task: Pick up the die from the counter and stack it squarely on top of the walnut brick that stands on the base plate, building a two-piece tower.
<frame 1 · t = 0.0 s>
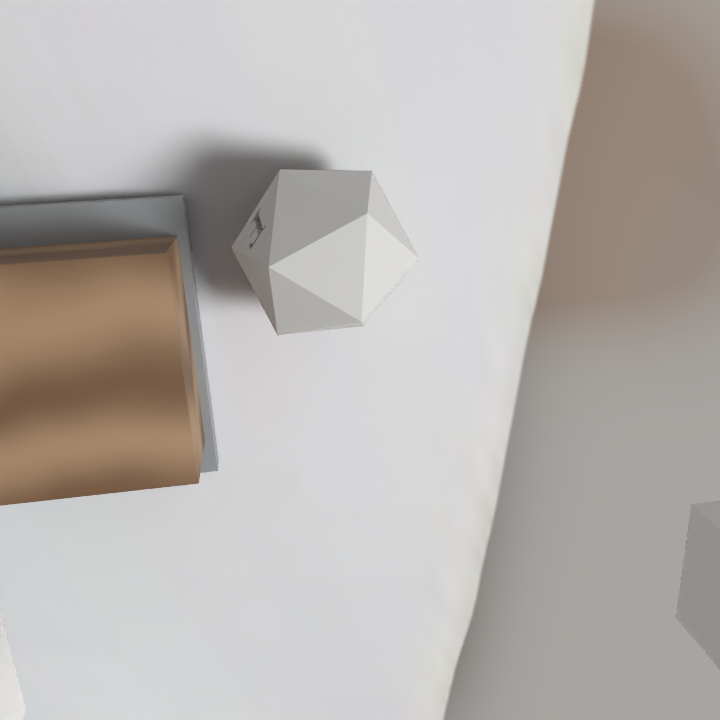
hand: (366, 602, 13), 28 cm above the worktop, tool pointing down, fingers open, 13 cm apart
die: (317, 240, 39), on the worktop
walnut brick: (79, 353, 38), resting on base plate
base plate: (85, 347, 39), on the worktop
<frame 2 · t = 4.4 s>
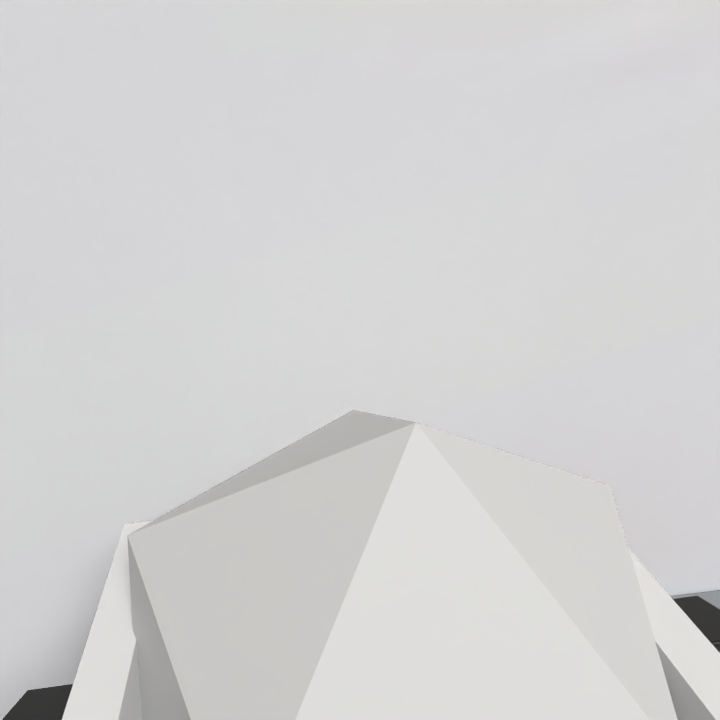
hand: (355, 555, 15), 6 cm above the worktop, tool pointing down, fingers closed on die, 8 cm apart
die: (352, 529, 15), point 5 cm above the worktop, touching gripper
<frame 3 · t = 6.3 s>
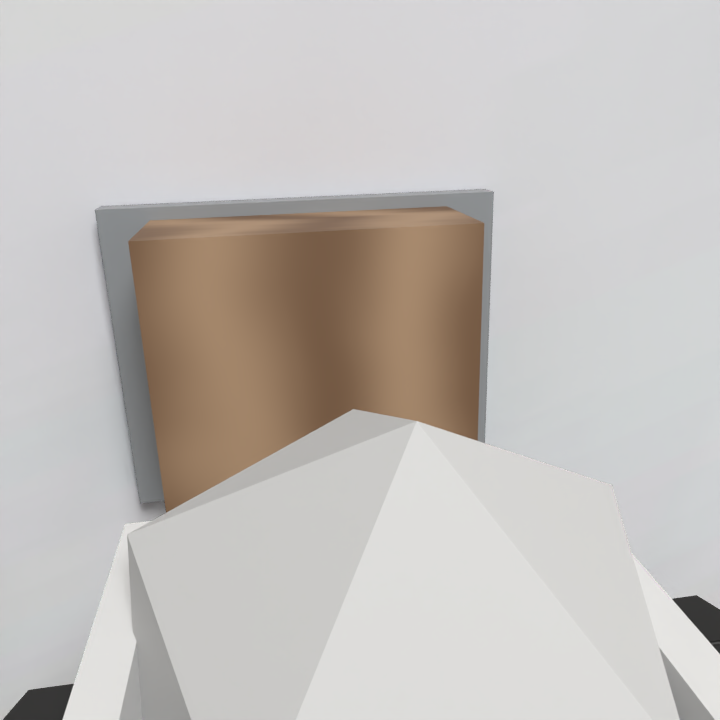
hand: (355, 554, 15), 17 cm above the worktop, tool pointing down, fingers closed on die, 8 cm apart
die: (352, 528, 15), point 17 cm above the worktop, touching gripper
walnut brick: (310, 353, 30), resting on base plate
base plate: (308, 345, 31), on the worktop
when the fingers open (7 cm above the worktop, at t = 8.6 s): die stays where it is, resting on walnut brick.
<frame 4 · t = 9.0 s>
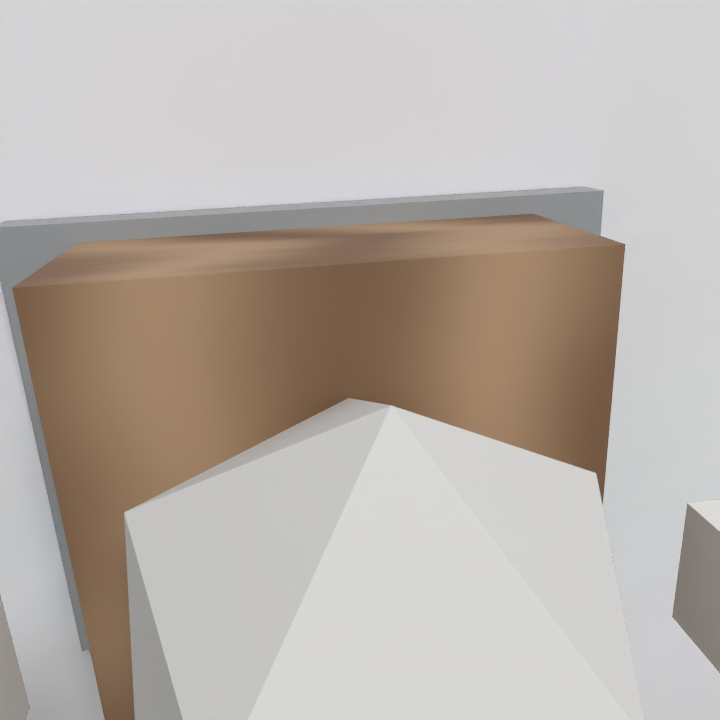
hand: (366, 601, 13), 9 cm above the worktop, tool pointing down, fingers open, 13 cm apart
die: (349, 514, 16), point 6 cm above the worktop, touching walnut brick
walnut brick: (327, 434, 20), resting on base plate
base plate: (323, 417, 21), on the worktop
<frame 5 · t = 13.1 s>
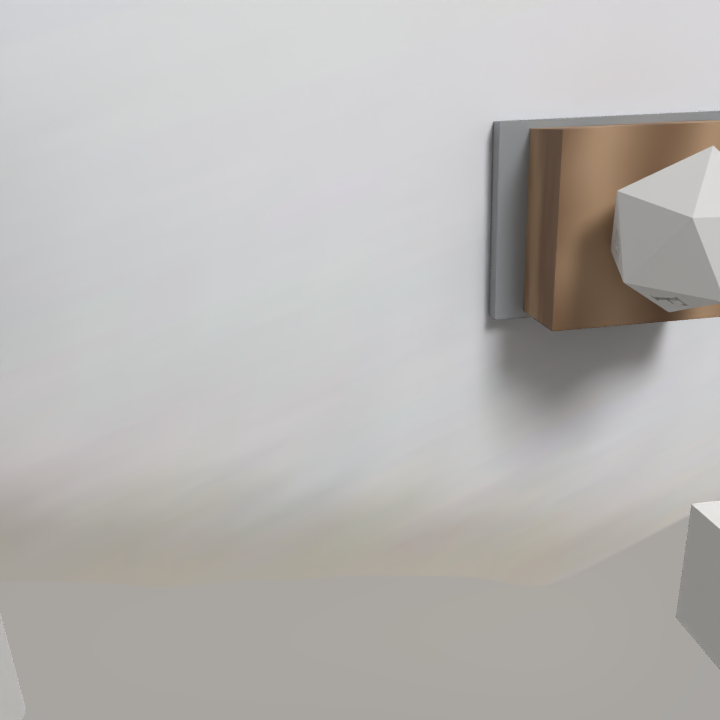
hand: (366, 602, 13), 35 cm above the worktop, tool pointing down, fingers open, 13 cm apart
die: (650, 223, 42), point 6 cm above the worktop, touching walnut brick
walnut brick: (611, 217, 47), resting on base plate
base plate: (603, 215, 48), on the worktop
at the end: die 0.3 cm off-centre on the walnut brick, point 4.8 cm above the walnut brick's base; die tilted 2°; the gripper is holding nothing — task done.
